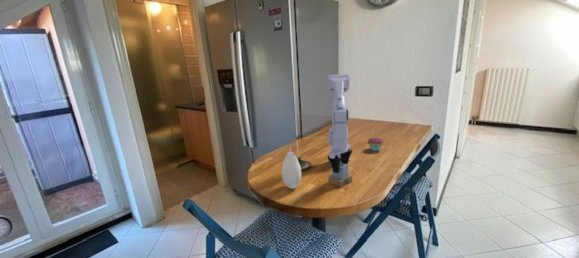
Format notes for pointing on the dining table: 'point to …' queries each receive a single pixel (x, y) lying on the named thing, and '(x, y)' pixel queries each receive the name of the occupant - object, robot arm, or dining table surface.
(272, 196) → the dining table surface
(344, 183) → the walnut block
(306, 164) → the salad bowl
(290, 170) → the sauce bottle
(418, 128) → the dining table surface
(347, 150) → the robot arm
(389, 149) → the dining table surface
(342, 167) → the blue cube
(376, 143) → the cupcake
